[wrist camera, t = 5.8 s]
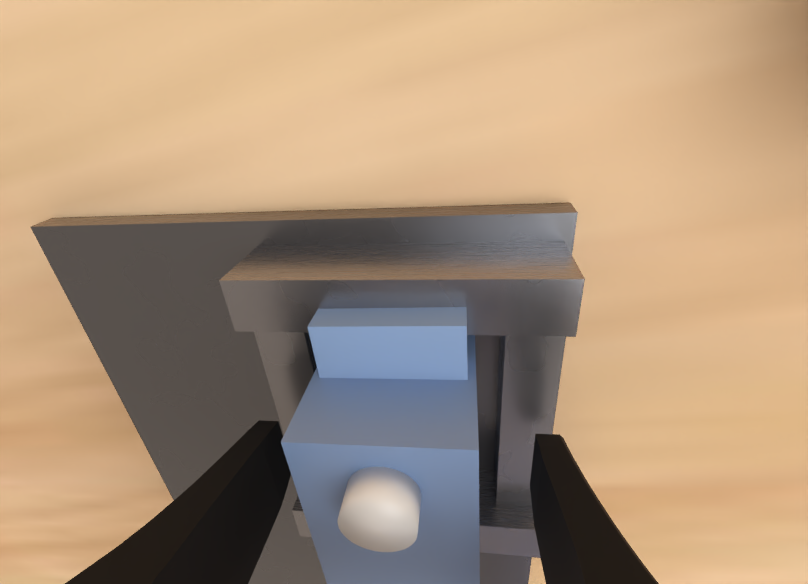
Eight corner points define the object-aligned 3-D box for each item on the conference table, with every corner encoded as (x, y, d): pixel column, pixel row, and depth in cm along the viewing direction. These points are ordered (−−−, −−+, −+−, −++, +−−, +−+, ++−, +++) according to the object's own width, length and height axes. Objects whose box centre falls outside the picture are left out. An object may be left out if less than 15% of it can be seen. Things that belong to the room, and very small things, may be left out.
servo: (476, 480, 16) (480, 677, 11) (373, 475, 16) (332, 658, 11) (473, 265, 12) (479, 424, 7) (334, 269, 12) (242, 417, 7)
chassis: (522, 596, 21) (530, 673, 18) (223, 565, 23) (193, 629, 20) (570, 203, 11) (602, 246, 9) (52, 218, 13) (-46, 256, 11)
